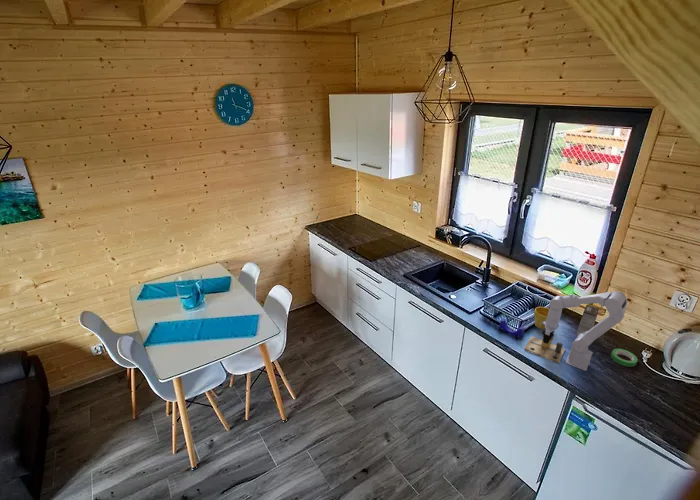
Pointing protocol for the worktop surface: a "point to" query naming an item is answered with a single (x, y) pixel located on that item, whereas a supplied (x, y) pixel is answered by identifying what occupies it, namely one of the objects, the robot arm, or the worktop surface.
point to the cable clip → (507, 329)
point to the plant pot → (540, 316)
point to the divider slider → (546, 344)
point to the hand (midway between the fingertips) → (547, 339)
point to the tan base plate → (551, 353)
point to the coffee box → (588, 319)
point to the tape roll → (621, 361)
